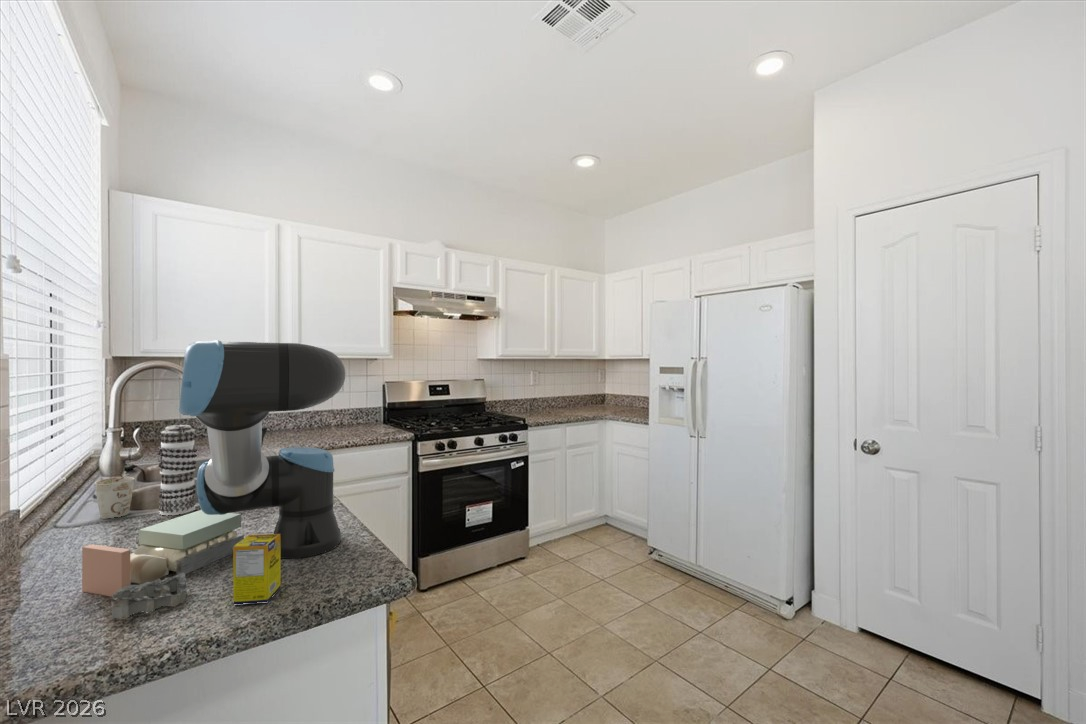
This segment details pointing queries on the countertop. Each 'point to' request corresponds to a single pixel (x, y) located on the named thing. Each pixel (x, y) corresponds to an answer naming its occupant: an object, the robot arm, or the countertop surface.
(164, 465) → the decorative candle
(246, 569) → the supplement box
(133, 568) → the roller
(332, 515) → the robot arm
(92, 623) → the countertop surface
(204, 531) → the slab
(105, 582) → the board
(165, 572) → the roller cradle
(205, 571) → the countertop surface
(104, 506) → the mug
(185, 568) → the roller bed
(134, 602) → the egg carton
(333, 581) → the countertop surface
